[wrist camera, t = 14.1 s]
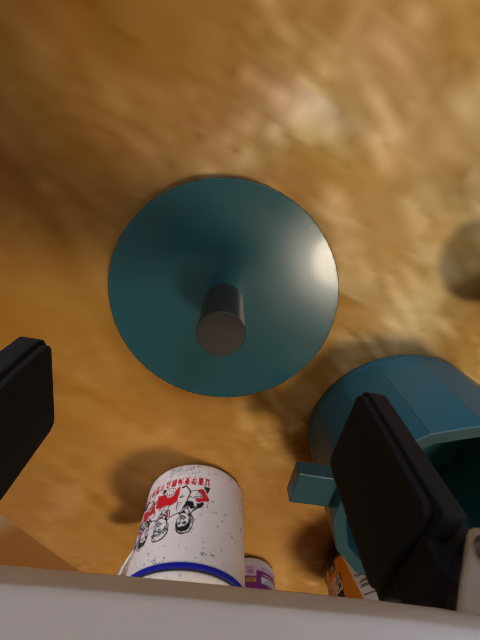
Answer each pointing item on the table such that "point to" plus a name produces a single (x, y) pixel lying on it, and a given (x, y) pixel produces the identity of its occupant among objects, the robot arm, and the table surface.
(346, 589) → the supplement container
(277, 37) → the table surface
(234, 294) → the cooker lid
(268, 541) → the table surface
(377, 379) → the cooker
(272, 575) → the pill bottle
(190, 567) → the teacup with lid
